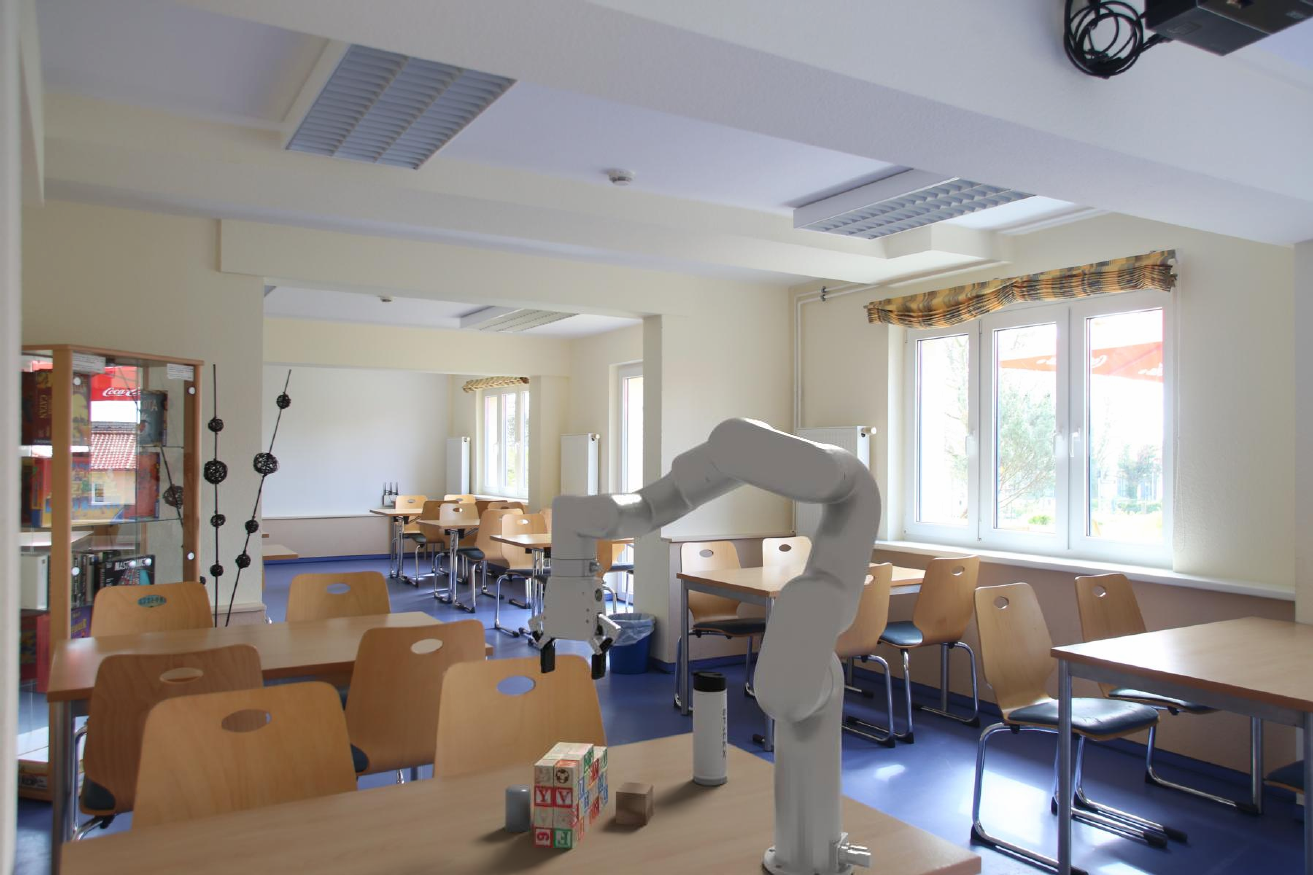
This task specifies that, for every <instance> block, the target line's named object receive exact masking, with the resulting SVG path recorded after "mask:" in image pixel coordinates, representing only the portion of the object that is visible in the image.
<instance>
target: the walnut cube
mask: <svg viewBox="0 0 1313 875" xmlns="http://www.w3.org/2000/svg"><path fill="white" fill-rule="evenodd" d="M653 815H654V784H653V783H646V782H645V783H644V782H643V783H642V782H630V781H623V782H622V783H621V784H620V786H619V787H618V789H617V790H615V824H623V825H624V824H625V825H634V826H635V825H637V826H638V825H639V826H647V825H648V823H649V822H650V820H651V818H652V816H653Z"/></svg>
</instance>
